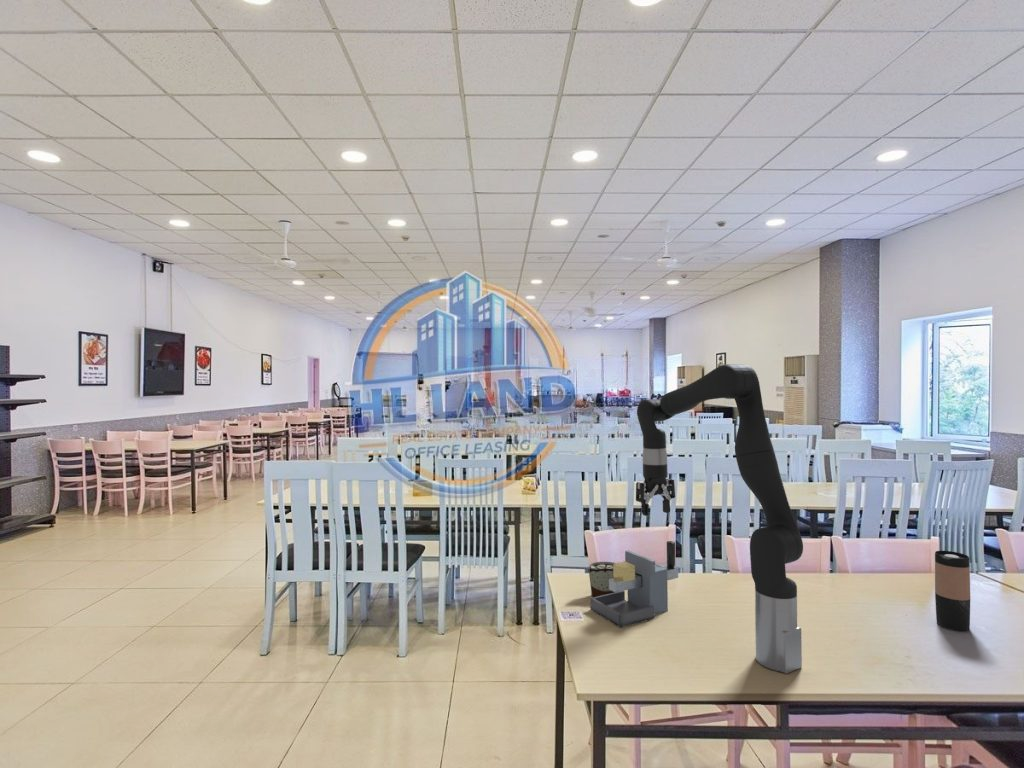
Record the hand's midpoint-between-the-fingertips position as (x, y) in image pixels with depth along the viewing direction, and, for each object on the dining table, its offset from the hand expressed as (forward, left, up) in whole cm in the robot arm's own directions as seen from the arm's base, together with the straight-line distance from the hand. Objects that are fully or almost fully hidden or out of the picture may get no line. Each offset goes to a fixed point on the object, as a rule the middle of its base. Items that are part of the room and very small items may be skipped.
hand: (656, 513), depth 166 cm
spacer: (-1, +14, -17) cm, 22 cm away
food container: (+13, +10, -28) cm, 32 cm away
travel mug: (-52, -61, -28) cm, 85 cm away
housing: (-1, +5, -28) cm, 28 cm away
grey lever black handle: (-1, +6, -20) cm, 21 cm away
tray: (-1, +15, -28) cm, 32 cm away
